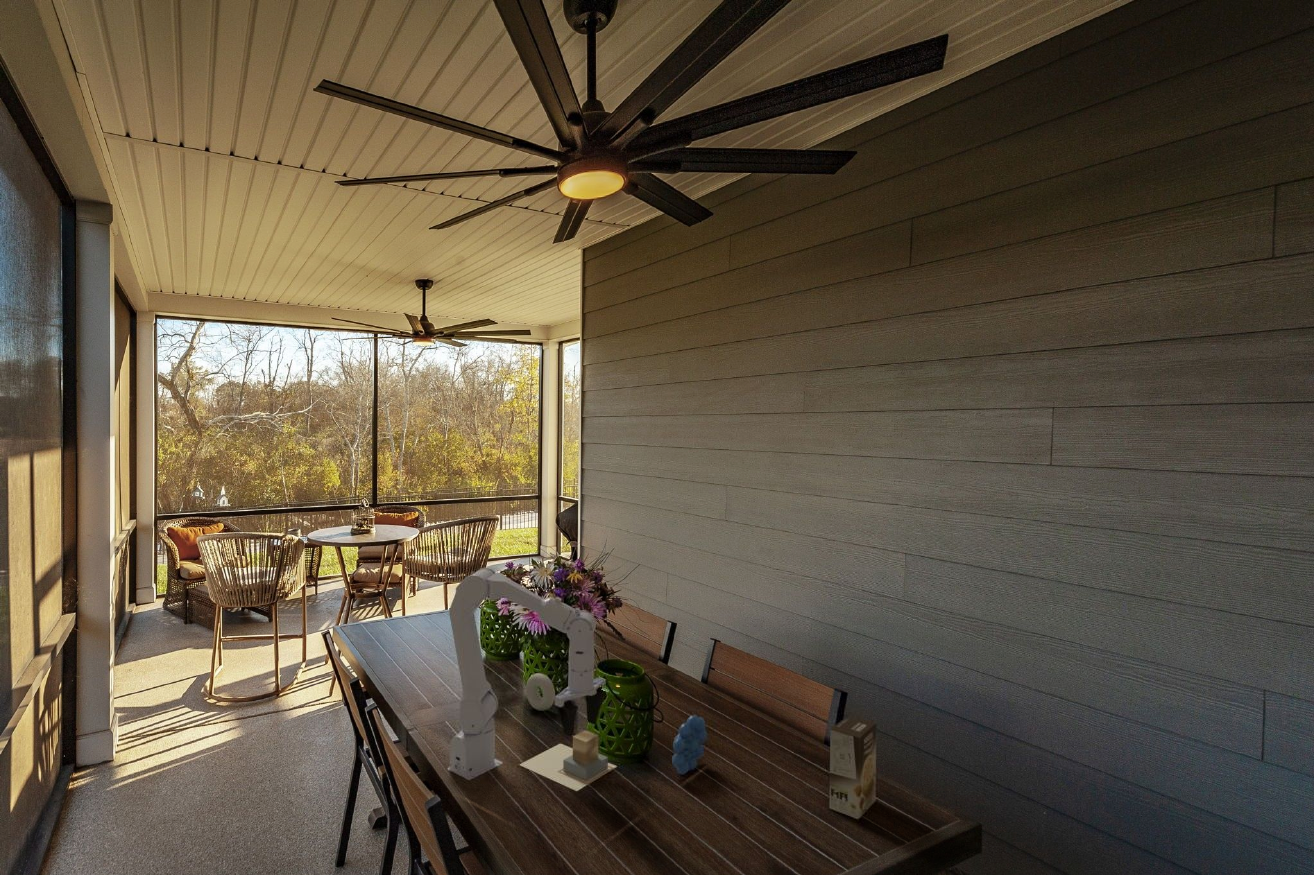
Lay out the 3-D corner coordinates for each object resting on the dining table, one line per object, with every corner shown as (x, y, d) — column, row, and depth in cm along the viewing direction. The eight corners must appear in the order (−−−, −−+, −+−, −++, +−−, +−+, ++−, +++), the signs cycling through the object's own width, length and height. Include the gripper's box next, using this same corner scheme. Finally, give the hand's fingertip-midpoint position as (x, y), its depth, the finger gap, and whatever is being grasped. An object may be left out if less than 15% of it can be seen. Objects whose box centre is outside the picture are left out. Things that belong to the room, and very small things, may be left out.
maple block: (585, 764, 139) (586, 741, 139) (572, 759, 141) (572, 736, 141) (598, 757, 142) (598, 735, 142) (584, 752, 144) (585, 730, 145)
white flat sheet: (576, 794, 133) (576, 790, 133) (519, 767, 144) (519, 764, 144) (617, 769, 143) (617, 765, 143) (560, 746, 154) (560, 743, 154)
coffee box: (859, 821, 124) (859, 738, 124) (828, 809, 128) (829, 729, 129) (876, 801, 131) (876, 723, 132) (846, 790, 135) (847, 714, 136)
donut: (522, 707, 176) (523, 671, 177) (531, 703, 179) (532, 668, 179) (548, 717, 171) (548, 679, 171) (557, 712, 173) (558, 675, 174)
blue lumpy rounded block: (689, 755, 150) (690, 704, 150) (713, 764, 146) (713, 711, 146) (658, 774, 141) (659, 720, 141) (682, 785, 137) (683, 729, 137)
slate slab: (586, 781, 137) (586, 769, 137) (563, 771, 141) (563, 760, 141) (607, 768, 142) (607, 757, 142) (584, 759, 146) (585, 748, 147)
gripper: (571, 681, 135) (570, 745, 135) (615, 663, 146) (615, 722, 146) (548, 673, 139) (547, 736, 139) (593, 656, 151) (592, 714, 150)
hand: (580, 728), depth 143 cm, fingers open, 7 cm apart
